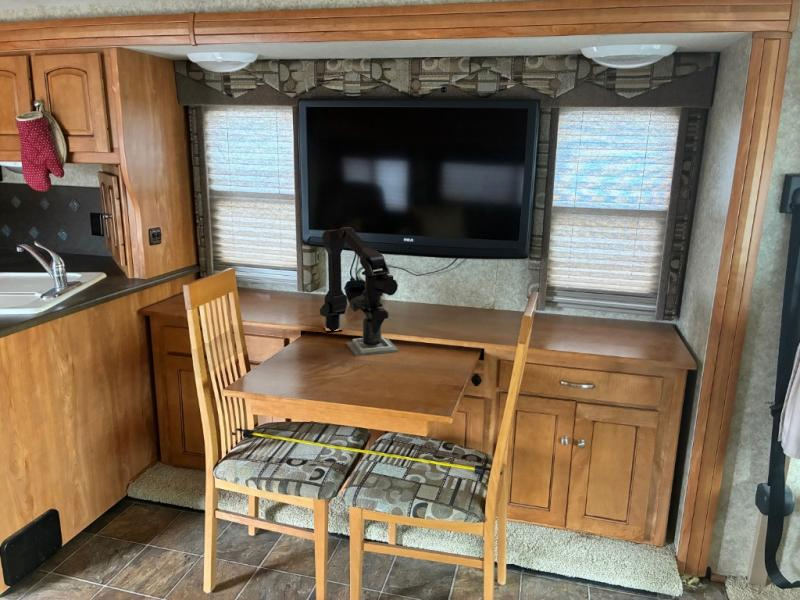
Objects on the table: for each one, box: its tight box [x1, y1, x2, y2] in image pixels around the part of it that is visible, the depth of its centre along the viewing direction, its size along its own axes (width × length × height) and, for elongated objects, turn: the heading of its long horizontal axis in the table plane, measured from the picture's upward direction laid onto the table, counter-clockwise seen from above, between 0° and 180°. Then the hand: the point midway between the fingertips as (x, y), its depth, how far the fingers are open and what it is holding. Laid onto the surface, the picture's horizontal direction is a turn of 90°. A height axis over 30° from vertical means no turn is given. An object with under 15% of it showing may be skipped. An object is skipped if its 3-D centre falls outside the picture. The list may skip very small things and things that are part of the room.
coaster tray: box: [346, 335, 399, 357], centre depth 221 cm, size 12×16×2 cm
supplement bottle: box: [362, 310, 383, 345], centre depth 219 cm, size 7×7×12 cm
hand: (372, 330), depth 220 cm, fingers closed on supplement bottle, 7 cm apart
